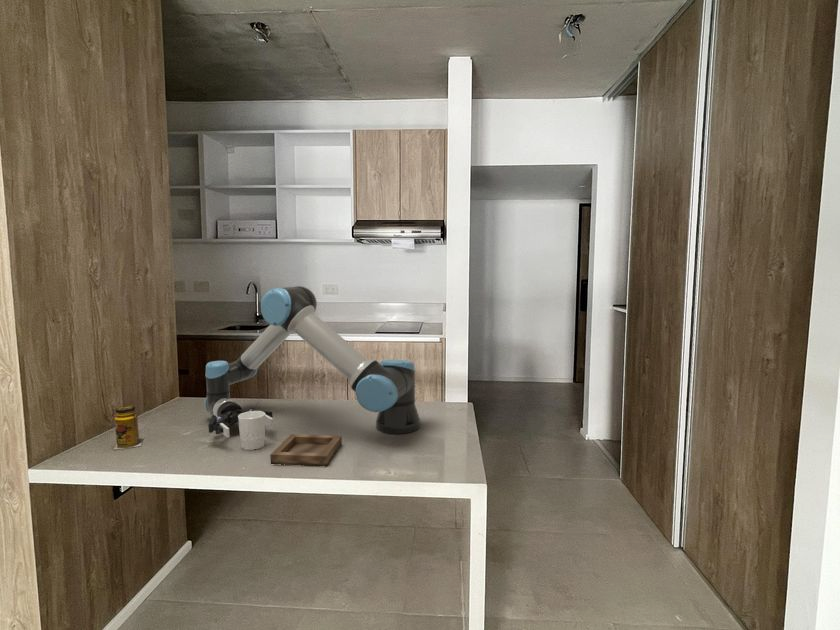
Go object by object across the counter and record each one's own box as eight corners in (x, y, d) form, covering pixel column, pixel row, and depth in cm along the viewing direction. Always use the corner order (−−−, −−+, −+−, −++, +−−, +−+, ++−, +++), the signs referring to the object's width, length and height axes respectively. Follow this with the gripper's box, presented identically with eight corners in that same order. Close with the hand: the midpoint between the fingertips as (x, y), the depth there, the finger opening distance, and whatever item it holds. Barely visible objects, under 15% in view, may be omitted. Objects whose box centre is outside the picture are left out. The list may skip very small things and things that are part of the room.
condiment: (113, 450, 148) (110, 412, 147) (118, 441, 156) (115, 404, 155) (140, 446, 151) (137, 409, 150) (144, 437, 159) (141, 401, 157)
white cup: (271, 443, 153) (270, 412, 152) (255, 452, 145) (254, 420, 144) (250, 440, 155) (249, 409, 154) (233, 449, 148) (232, 417, 147)
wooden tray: (341, 445, 151) (341, 435, 150) (326, 466, 135) (326, 456, 135) (291, 443, 152) (290, 434, 152) (270, 464, 137) (270, 454, 136)
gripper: (264, 415, 174) (289, 430, 158) (189, 430, 159) (208, 449, 142) (263, 394, 174) (288, 408, 157) (188, 408, 158) (207, 424, 142)
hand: (250, 428), depth 150 cm, fingers open, 13 cm apart
